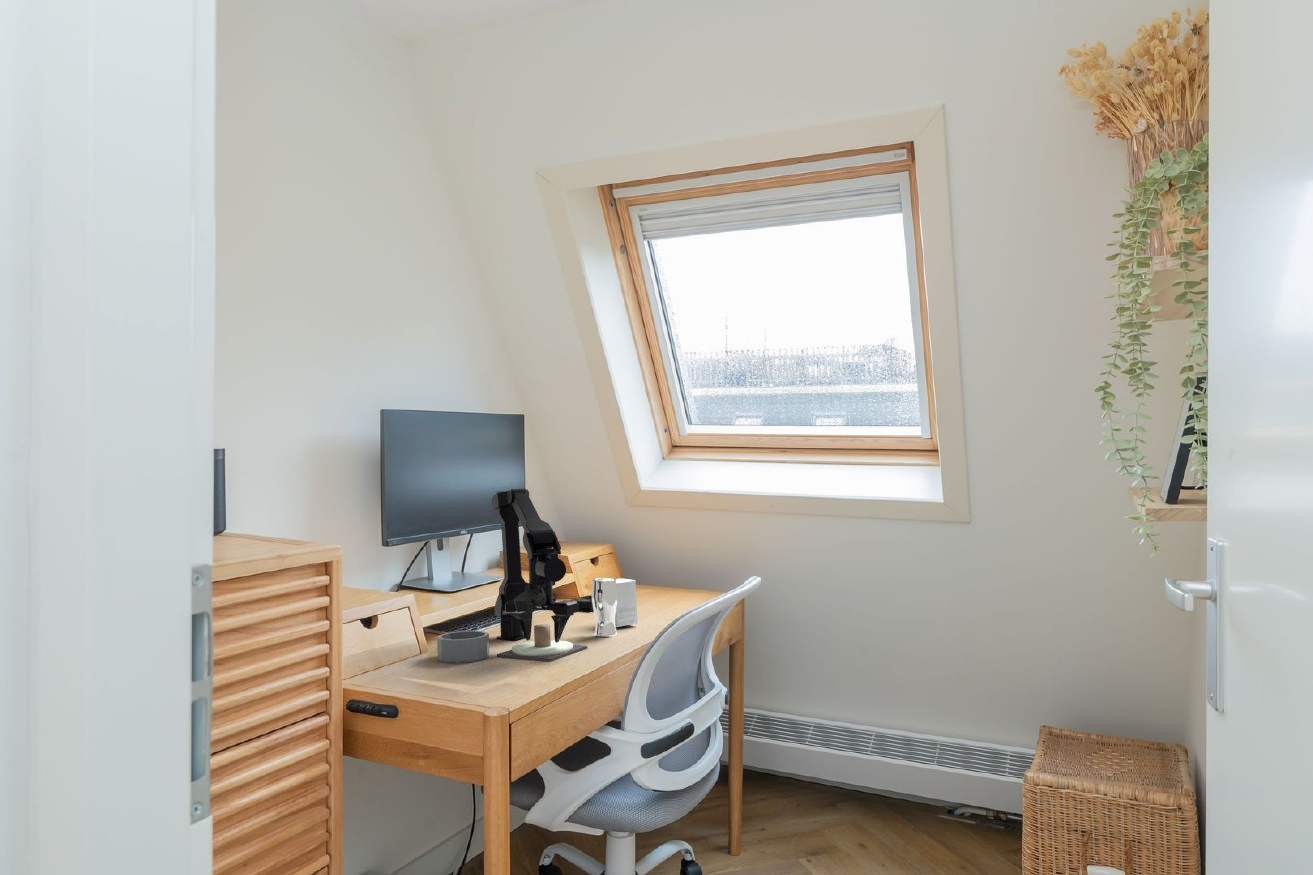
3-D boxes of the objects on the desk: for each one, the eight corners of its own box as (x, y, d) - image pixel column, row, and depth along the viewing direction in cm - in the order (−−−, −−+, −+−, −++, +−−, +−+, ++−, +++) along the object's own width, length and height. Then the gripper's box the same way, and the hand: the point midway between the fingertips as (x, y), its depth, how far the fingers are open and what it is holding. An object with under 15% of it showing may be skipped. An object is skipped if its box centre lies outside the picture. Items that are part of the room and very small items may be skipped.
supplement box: (623, 621, 267) (621, 577, 268) (637, 623, 261) (636, 579, 262) (602, 624, 263) (600, 580, 263) (616, 627, 257) (615, 582, 257)
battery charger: (591, 615, 282) (591, 602, 282) (566, 613, 287) (565, 600, 287) (613, 608, 294) (612, 596, 294) (588, 607, 298) (587, 595, 298)
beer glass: (595, 638, 241) (594, 581, 242) (590, 633, 248) (588, 578, 248) (621, 636, 243) (619, 579, 244) (615, 631, 250) (613, 577, 250)
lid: (535, 642, 235) (535, 619, 235) (584, 646, 228) (584, 622, 228) (499, 653, 222) (499, 629, 222) (550, 658, 215) (549, 632, 215)
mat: (535, 644, 236) (535, 641, 236) (587, 648, 228) (587, 645, 228) (496, 656, 222) (496, 654, 222) (551, 661, 214) (550, 658, 214)
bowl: (460, 651, 229) (460, 629, 230) (498, 654, 224) (498, 632, 224) (427, 661, 219) (427, 638, 219) (466, 664, 213) (466, 641, 213)
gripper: (490, 581, 223) (492, 645, 222) (553, 583, 214) (555, 650, 214) (517, 575, 233) (519, 636, 232) (579, 577, 224) (580, 641, 223)
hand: (542, 641), depth 225 cm, fingers open, 8 cm apart
